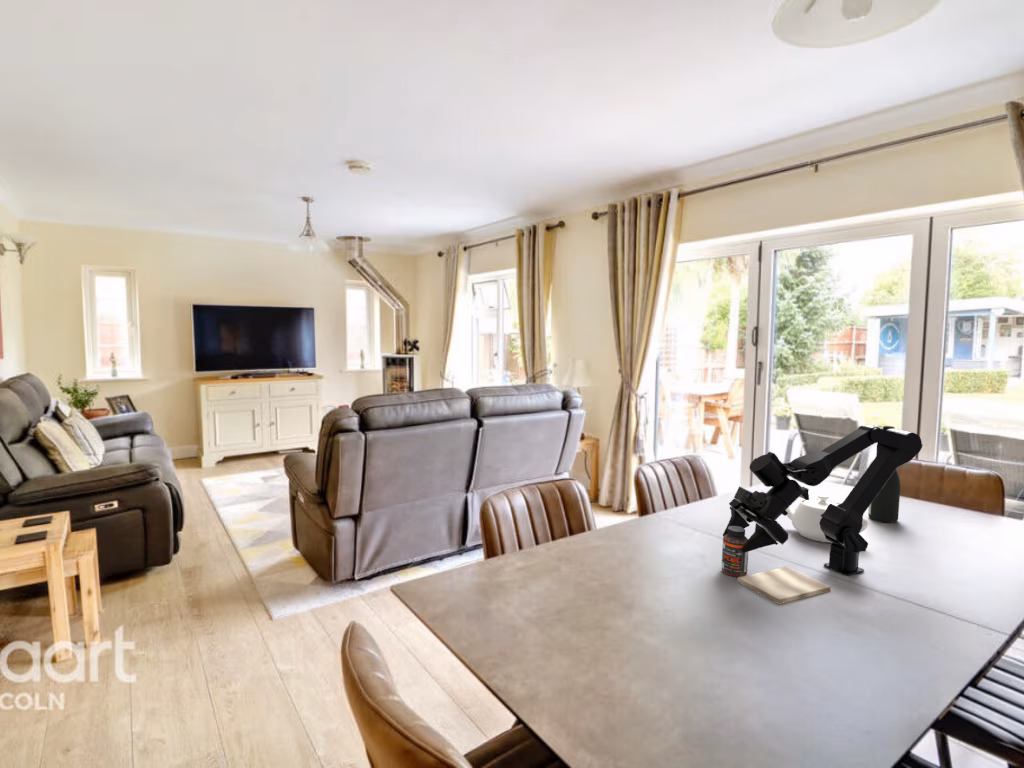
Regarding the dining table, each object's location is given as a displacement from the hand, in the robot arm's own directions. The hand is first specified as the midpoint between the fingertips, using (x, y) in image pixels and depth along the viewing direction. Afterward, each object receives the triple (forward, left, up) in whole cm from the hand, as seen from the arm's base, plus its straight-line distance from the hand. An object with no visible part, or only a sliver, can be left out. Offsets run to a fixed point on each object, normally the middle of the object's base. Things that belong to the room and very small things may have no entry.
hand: (732, 543), depth 136 cm
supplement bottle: (-1, 0, -8) cm, 8 cm away
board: (-6, +10, -7) cm, 14 cm away
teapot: (-43, -10, -8) cm, 44 cm away
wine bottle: (-75, -12, -8) cm, 76 cm away
